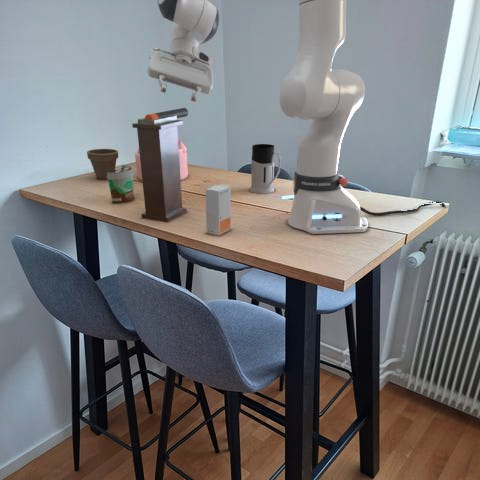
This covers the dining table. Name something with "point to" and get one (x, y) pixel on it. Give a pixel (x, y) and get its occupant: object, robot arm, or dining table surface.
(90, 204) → the dining table surface
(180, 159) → the cake
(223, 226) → the cosmetic box
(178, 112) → the marker
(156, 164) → the stand
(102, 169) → the flower pot
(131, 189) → the food container
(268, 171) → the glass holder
